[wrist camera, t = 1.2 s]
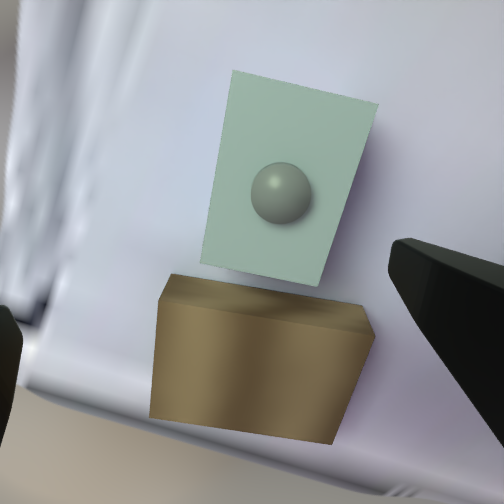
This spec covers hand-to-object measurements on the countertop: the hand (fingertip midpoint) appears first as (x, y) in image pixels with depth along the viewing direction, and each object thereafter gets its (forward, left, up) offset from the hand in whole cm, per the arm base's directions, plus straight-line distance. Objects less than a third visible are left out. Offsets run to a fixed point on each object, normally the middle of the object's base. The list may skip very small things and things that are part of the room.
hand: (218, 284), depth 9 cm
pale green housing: (-2, 0, -12) cm, 12 cm away
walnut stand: (-3, +12, -12) cm, 17 cm away
